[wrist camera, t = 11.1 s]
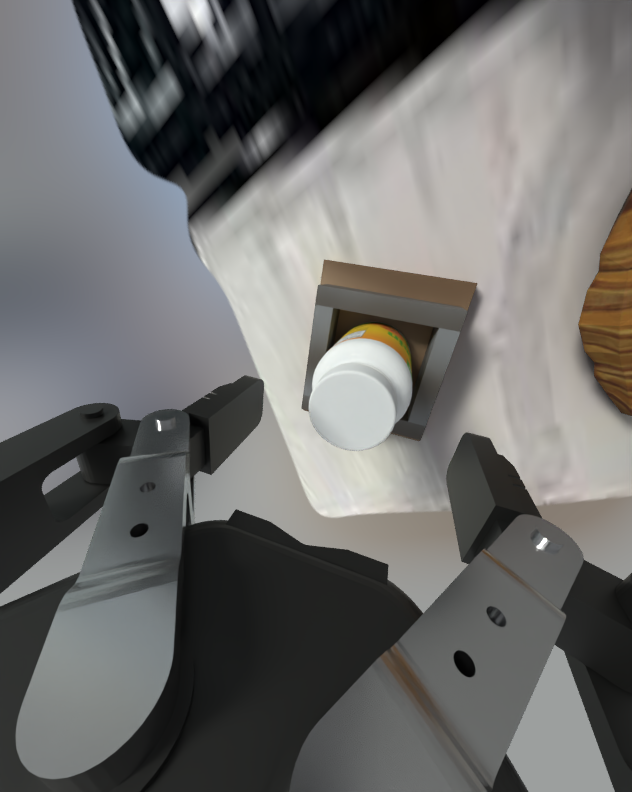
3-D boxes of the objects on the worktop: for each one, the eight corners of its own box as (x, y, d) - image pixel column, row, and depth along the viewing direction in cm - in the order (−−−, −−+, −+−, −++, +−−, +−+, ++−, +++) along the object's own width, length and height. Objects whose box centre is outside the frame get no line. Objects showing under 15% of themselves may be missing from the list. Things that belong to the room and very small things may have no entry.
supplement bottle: (423, 373, 20) (436, 444, 12) (358, 400, 23) (329, 476, 14) (391, 306, 19) (378, 330, 11) (325, 342, 22) (272, 386, 13)
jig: (327, 260, 20) (313, 257, 17) (473, 282, 18) (488, 284, 15) (306, 405, 25) (293, 423, 22) (418, 435, 23) (421, 459, 20)
